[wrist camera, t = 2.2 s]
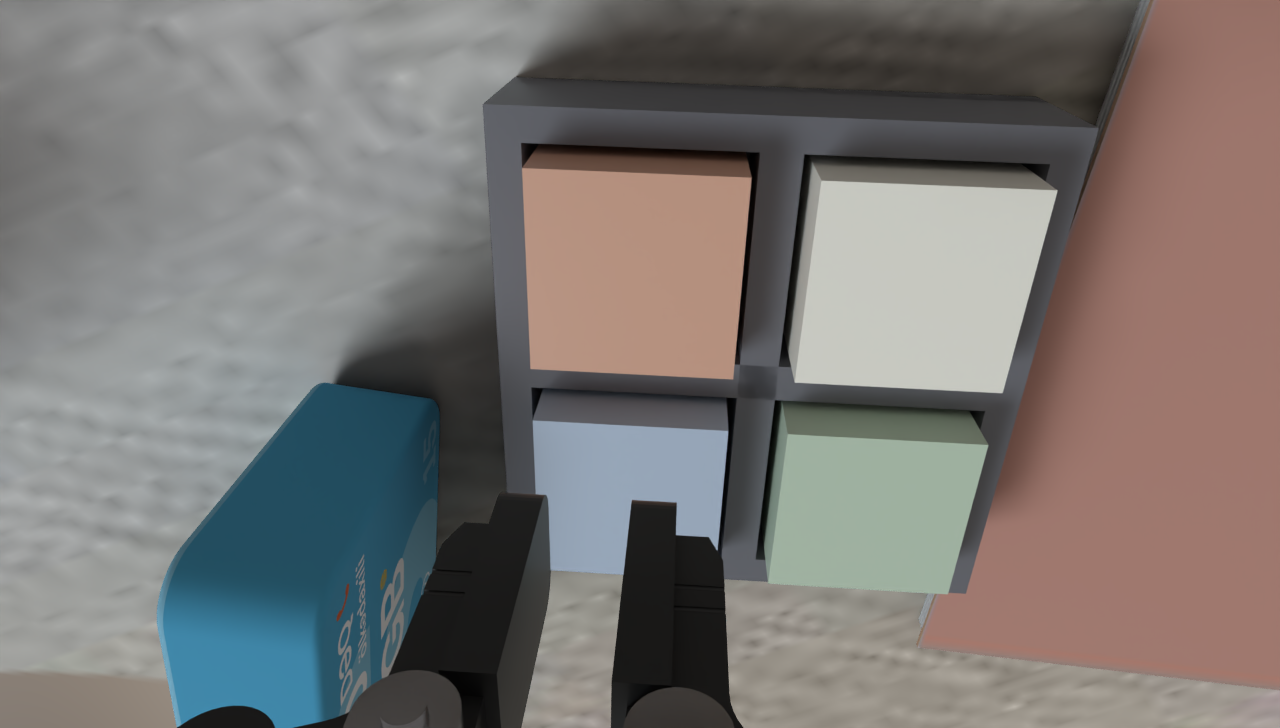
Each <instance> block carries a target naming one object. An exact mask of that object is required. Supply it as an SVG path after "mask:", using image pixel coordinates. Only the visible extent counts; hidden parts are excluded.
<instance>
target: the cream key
mask: <svg viewBox="0 0 1280 728" xmlns="http://www.w3.org/2000/svg"><path fill="white" fill-rule="evenodd" d="M1057 191H1058V190H1056V189H1055V188H1054V187H1052V186H1051V185H1049V184H1048V183H1047V182H1045V181H1044V180H1043V179H1041V178H1040V177H1039V176H1037V175H1036V174H1034V173H1033V172H1032V171H1030V170H1029V169H1028V168H1026V167H1025V166H1023V165H1022V164H1021V163H1007V162H982V161H957V160H933V159H908V158H883V157H859V156H834V155H809V154H805V156H804V164H803V172H802V180H801V189H800V197H799V205H798V213H797V222H796V230H795V238H794V247H793V255H792V263H791V271H790V280H789V288H788V296H787V305H786V313H785V321H784V329H783V331H784V336H785V341H786V345H787V350H788V354H789V359H790V363H791V368H792V373H793V377H794V382H795V383H812V384H831V385H851V386H870V387H890V388H909V389H928V390H948V391H967V392H987V393H1003V390H1004V386H1005V383H1006V379H1007V375H1008V372H1009V368H1010V364H1011V360H1012V357H1013V353H1014V349H1015V346H1016V342H1017V338H1018V335H1019V331H1020V327H1021V324H1022V320H1023V316H1024V313H1025V309H1026V305H1027V302H1028V298H1029V294H1030V291H1031V287H1032V283H1033V280H1034V276H1035V272H1036V269H1037V265H1038V261H1039V257H1040V254H1041V250H1042V246H1043V243H1044V239H1045V235H1046V232H1047V228H1048V224H1049V221H1050V217H1051V213H1052V210H1053V206H1054V202H1055V199H1056V195H1057Z"/></svg>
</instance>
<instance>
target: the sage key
mask: <svg viewBox="0 0 1280 728" xmlns="http://www.w3.org/2000/svg"><path fill="white" fill-rule="evenodd" d="M987 449H988V443H987V442H986V440H985V438H984V436H983V434H982V433H981V431H980V429H979V427H978V426H977V424H976V422H975V420H974V419H973V417H972V415H971V413H970V411H969V410H955V409H936V408H917V407H898V406H879V405H860V404H841V403H821V402H802V401H783V400H775V404H774V412H773V420H772V429H771V437H770V445H769V454H768V462H767V470H766V478H765V487H764V495H763V503H762V512H761V524H762V533H763V542H764V551H765V560H766V569H767V578H768V583H769V584H785V585H801V586H818V587H834V588H850V589H867V590H883V591H899V592H916V593H932V594H948V592H949V589H950V585H951V581H952V577H953V574H954V570H955V566H956V563H957V559H958V555H959V552H960V548H961V544H962V541H963V537H964V533H965V530H966V526H967V522H968V519H969V515H970V511H971V508H972V504H973V500H974V497H975V493H976V489H977V486H978V482H979V478H980V474H981V471H982V467H983V463H984V460H985V456H986V452H987Z"/></svg>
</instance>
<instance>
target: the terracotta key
mask: <svg viewBox="0 0 1280 728" xmlns="http://www.w3.org/2000/svg"><path fill="white" fill-rule="evenodd" d="M522 178H523V202H524V226H525V250H526V274H527V298H528V321H529V345H530V369H540V370H559V371H579V372H598V373H617V374H637V375H656V376H676V377H695V378H715V379H733V375H734V364H735V354H736V343H737V332H738V321H739V310H740V299H741V288H742V277H743V266H744V255H745V244H746V233H747V222H748V211H749V201H750V190H751V179H752V177H751V173H750V168H749V164H748V160H747V155H746V152H735V151H710V150H686V149H661V148H636V147H612V146H587V145H562V144H539V145H538V146H537V148H536V149H535V151H534V152H533V153H532V155H531V156H530V158H529V159H528V161H527V162H526V163H525V165H524V166H523V168H522Z"/></svg>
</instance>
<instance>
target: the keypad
mask: <svg viewBox="0 0 1280 728" xmlns="http://www.w3.org/2000/svg"><path fill="white" fill-rule="evenodd" d="M483 115H484V131H485V147H486V163H487V179H488V195H489V212H490V228H491V244H492V260H493V276H494V292H495V308H496V324H497V340H498V356H499V372H500V388H501V404H502V420H503V436H504V452H505V468H506V484H507V493H522V494H536V488H535V464H534V441H533V418H534V415H535V412H536V409H537V406H538V403H539V400H540V397H541V393H542V390H543V388H554V389H573V390H592V391H611V392H630V393H649V394H669V395H688V396H707V397H726V402H727V417H728V441H727V452H726V463H725V474H724V485H723V496H722V507H721V517H720V528H719V539H718V550H717V551H718V553H719V555H720V556H721V558H722V559H723V566H724V579H731V580H748V581H764V582H768V578H767V569H766V560H765V551H764V542H763V533H762V524H761V512H762V503H763V495H764V487H765V478H766V470H767V462H768V454H769V445H770V437H771V429H772V420H773V412H774V404H775V400H783V401H802V402H821V403H841V404H860V405H879V406H898V407H917V408H936V409H955V410H969V411H970V413H971V415H972V417H973V419H974V420H975V422H976V424H977V426H978V427H979V429H980V431H981V433H982V434H983V436H984V438H985V440H986V442H987V443H988V449H987V452H986V456H985V460H984V463H983V467H982V471H981V474H980V478H979V482H978V486H977V489H976V493H975V497H974V500H973V504H972V508H971V511H970V515H969V519H968V522H967V526H966V530H965V533H964V537H963V541H962V544H961V548H960V552H959V555H958V559H957V563H956V566H955V570H954V574H953V577H952V581H951V585H950V589H949V592H948V593H961V594H966V592H967V588H968V585H969V581H970V578H971V574H972V571H973V567H974V564H975V560H976V557H977V553H978V550H979V546H980V543H981V539H982V536H983V532H984V529H985V525H986V522H987V518H988V515H989V511H990V508H991V504H992V501H993V497H994V494H995V490H996V487H997V483H998V480H999V476H1000V473H1001V469H1002V466H1003V462H1004V459H1005V455H1006V452H1007V448H1008V445H1009V441H1010V438H1011V434H1012V431H1013V427H1014V424H1015V420H1016V417H1017V413H1018V410H1019V406H1020V403H1021V399H1022V396H1023V392H1024V389H1025V385H1026V382H1027V378H1028V375H1029V371H1030V368H1031V364H1032V361H1033V357H1034V354H1035V350H1036V347H1037V343H1038V340H1039V336H1040V333H1041V329H1042V326H1043V322H1044V319H1045V315H1046V312H1047V308H1048V305H1049V301H1050V298H1051V294H1052V291H1053V287H1054V284H1055V280H1056V277H1057V273H1058V270H1059V266H1060V263H1061V259H1062V256H1063V252H1064V249H1065V245H1066V242H1067V238H1068V235H1069V231H1070V227H1071V224H1072V220H1073V217H1074V213H1075V210H1076V206H1077V203H1078V199H1079V196H1080V192H1081V189H1082V185H1083V182H1084V178H1085V175H1086V171H1087V168H1088V164H1089V161H1090V157H1091V154H1092V150H1093V147H1094V143H1095V140H1096V136H1097V133H1098V129H1099V128H1098V127H1096V126H1094V125H1092V124H1090V123H1088V122H1086V121H1084V120H1082V119H1080V118H1078V117H1076V116H1074V115H1072V114H1070V113H1068V112H1066V111H1064V110H1062V109H1060V108H1058V107H1056V106H1054V105H1052V104H1050V103H1048V102H1046V101H1044V100H1042V99H1040V98H1038V97H1030V96H1003V95H977V94H950V93H923V92H896V91H870V90H843V89H816V88H789V87H762V86H736V85H709V84H682V83H655V82H629V81H602V80H575V79H548V78H521V77H515V78H513V79H512V80H511V81H510V82H509V83H507V84H506V85H505V86H504V87H503V88H501V89H500V90H499V91H498V92H497V93H496V94H494V95H493V96H492V97H491V98H490V99H488V100H487V101H486V102H485V103H484V104H483ZM539 144H562V145H587V146H612V147H636V148H661V149H686V150H710V151H735V152H746V155H747V160H748V164H749V168H750V173H751V177H752V179H751V190H750V201H749V211H748V222H747V233H746V244H745V255H744V266H743V277H742V288H741V299H740V310H739V321H738V332H737V343H736V354H735V364H734V375H733V379H715V378H695V377H676V376H656V375H637V374H617V373H598V372H579V371H559V370H540V369H530V345H529V321H528V298H527V274H526V250H525V226H524V202H523V178H522V168H523V166H524V165H525V163H526V162H527V161H528V159H529V158H530V156H531V155H532V153H533V152H534V151H535V149H536V148H537V146H538V145H539ZM805 154H809V155H834V156H859V157H883V158H908V159H933V160H957V161H982V162H1007V163H1021V164H1022V165H1023V166H1025V167H1026V168H1028V169H1029V170H1030V171H1032V172H1033V173H1034V174H1036V175H1037V176H1039V177H1040V178H1041V179H1043V180H1044V181H1045V182H1047V183H1048V184H1049V185H1051V186H1052V187H1054V188H1055V189H1056V190H1058V191H1057V195H1056V199H1055V202H1054V206H1053V210H1052V213H1051V217H1050V221H1049V224H1048V228H1047V232H1046V235H1045V239H1044V243H1043V246H1042V250H1041V254H1040V257H1039V261H1038V265H1037V269H1036V272H1035V276H1034V280H1033V283H1032V287H1031V291H1030V294H1029V298H1028V302H1027V305H1026V309H1025V313H1024V316H1023V320H1022V324H1021V327H1020V331H1019V335H1018V338H1017V342H1016V346H1015V349H1014V353H1013V357H1012V360H1011V364H1010V368H1009V372H1008V375H1007V379H1006V383H1005V386H1004V390H1003V393H987V392H967V391H948V390H928V389H909V388H890V387H870V386H851V385H831V384H812V383H795V382H794V377H793V373H792V368H791V363H790V359H789V354H788V350H787V345H786V341H785V336H784V331H783V329H784V321H785V313H786V305H787V296H788V288H789V280H790V271H791V263H792V255H793V247H794V238H795V230H796V222H797V213H798V205H799V197H800V189H801V180H802V172H803V164H804V156H805Z"/></svg>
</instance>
